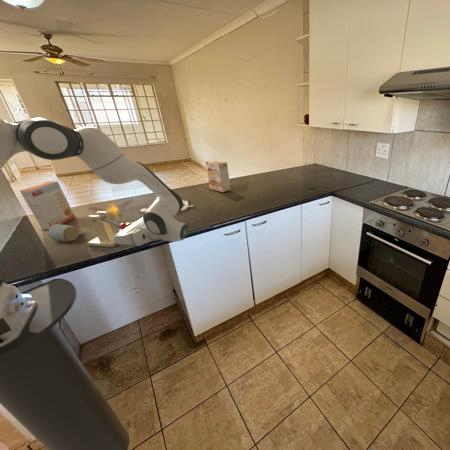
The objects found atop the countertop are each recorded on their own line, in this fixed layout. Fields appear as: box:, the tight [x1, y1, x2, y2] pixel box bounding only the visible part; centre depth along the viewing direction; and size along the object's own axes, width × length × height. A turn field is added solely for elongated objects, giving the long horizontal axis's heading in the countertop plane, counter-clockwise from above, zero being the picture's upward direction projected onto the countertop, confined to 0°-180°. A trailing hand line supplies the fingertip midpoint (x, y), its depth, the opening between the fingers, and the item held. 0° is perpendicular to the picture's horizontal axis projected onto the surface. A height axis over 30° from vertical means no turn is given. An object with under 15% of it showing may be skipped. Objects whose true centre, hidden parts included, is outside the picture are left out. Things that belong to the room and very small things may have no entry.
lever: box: [95, 213, 128, 230], centre depth 108 cm, size 14×4×4 cm, turn 84°
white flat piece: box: [140, 199, 195, 218], centre depth 145 cm, size 21×28×1 cm
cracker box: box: [19, 180, 76, 230], centre depth 124 cm, size 14×6×21 cm, turn 178°
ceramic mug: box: [47, 224, 84, 243], centre depth 113 cm, size 11×8×8 cm
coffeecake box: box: [205, 159, 231, 193], centre depth 170 cm, size 15×7×20 cm, turn 53°
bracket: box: [87, 210, 118, 248], centre depth 110 cm, size 12×9×14 cm
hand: (121, 227), depth 108 cm, fingers closed on lever, 3 cm apart
